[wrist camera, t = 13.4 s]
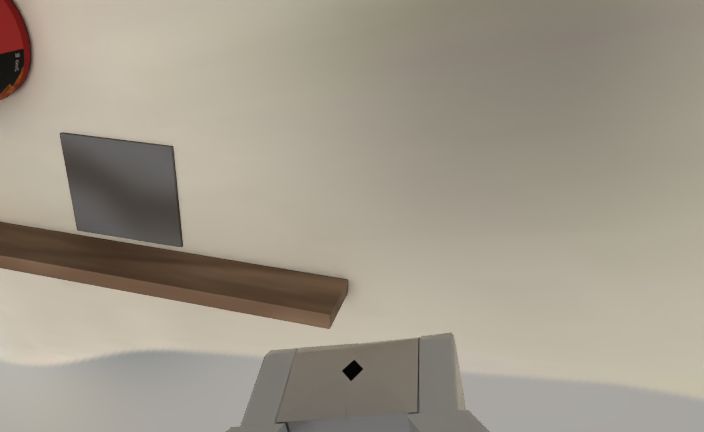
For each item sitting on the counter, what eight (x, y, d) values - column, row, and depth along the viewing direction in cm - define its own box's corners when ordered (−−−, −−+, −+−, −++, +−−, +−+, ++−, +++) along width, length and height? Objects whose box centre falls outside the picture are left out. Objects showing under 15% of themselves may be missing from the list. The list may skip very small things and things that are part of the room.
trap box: (-172, -253, 32) (-307, -291, 27) (367, -276, 26) (327, -331, 21) (-40, 227, 45) (-115, 265, 39) (347, 293, 38) (319, 349, 33)
